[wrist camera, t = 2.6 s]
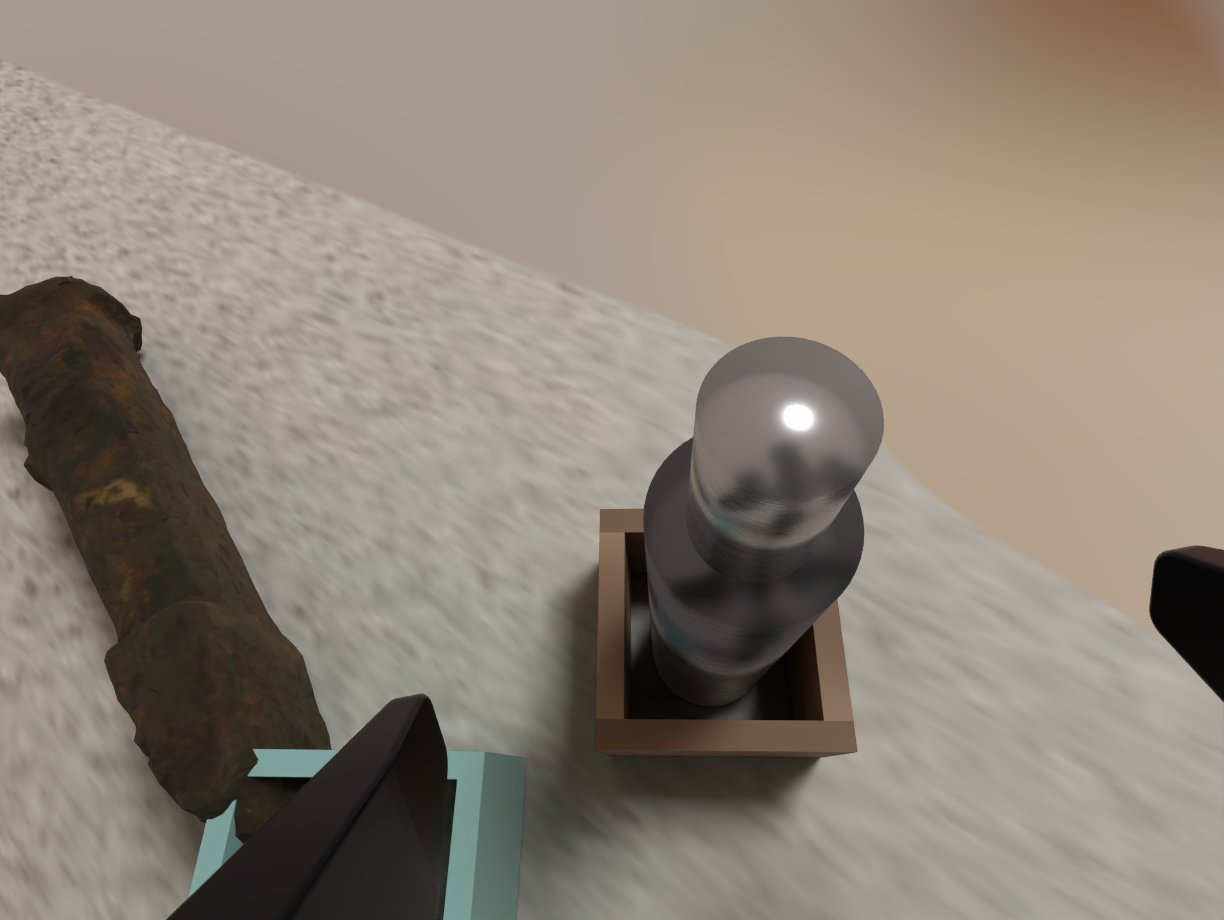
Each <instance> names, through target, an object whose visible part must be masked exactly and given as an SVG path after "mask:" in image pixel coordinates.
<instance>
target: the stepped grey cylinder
mask: <svg viewBox="0 0 1224 920" xmlns="http://www.w3.org/2000/svg"><path fill="white" fill-rule="evenodd" d="M883 429H884V418H883V410H882V406H881V402H880V399H879V396H878V394H877V392H876V389H875V388H874V386H873V384H872V383H871V381H870V380H869V379H868V377H867V376H866V375H865V373H864V372H863V371H862V370H861V369H860V368H859V367H858V366H857V365H856V364H855V363H854V362H853V361H851V360H850V359H849V358H847V357H846V356H845V355H843V354H842V353H840V352H838V351H837V350H835V349H833V348H831V347H828V346H826V345H824V344H821V343H818V342H815V341H811V340H807V339H803V338H795V337H771V338H764V339H760V340H755V341H752V342H749V343H746V344H744V345H742V346H739V347H737V348H735V349H734V350H732V351H730V352H729V353H727V354H726V355H725V356H723V357H722V358H721V359H720V360H719V361H718V362H717V363H716V364H715V365H714V366H713V367H712V368H711V370H710V371H709V372H708V374H707V375H706V377H705V379H704V381H703V383H702V385H701V387H700V390H699V393H698V398H697V403H696V413H695V424H694V436H693V438H691V439H689V440H688V441H686V442H685V443H683V444H682V445H681V446H679V447H678V448H677V449H676V450H674V451H673V452H672V453H671V454H670V455H669V456H668V458H667V459H666V460H665V461H664V462H663V463H662V465H661V466H660V468H659V469H658V470H657V472H656V474H655V476H654V478H653V480H652V482H651V484H650V487H649V489H648V492H647V495H646V500H645V505H644V515H643V525H644V539H645V552H646V565H647V579H648V592H649V605H650V618H651V632H652V645H653V656H654V661H655V664H656V667H657V670H658V672H659V674H660V676H661V678H662V679H663V681H664V682H665V684H666V685H667V686H668V687H669V688H670V689H671V690H672V691H673V692H674V693H675V694H677V695H678V696H680V697H681V698H683V699H685V700H687V701H689V702H691V703H694V704H698V705H702V706H720V705H725V704H728V703H731V702H733V701H735V700H737V699H739V698H740V697H742V696H743V695H744V694H746V693H747V692H748V691H749V690H750V689H751V688H752V687H753V686H754V685H755V684H756V683H757V682H758V680H759V679H760V678H761V677H762V676H763V675H764V674H765V673H766V672H767V671H768V670H769V669H770V668H771V667H772V666H773V665H774V664H775V663H776V662H777V661H778V660H779V659H780V658H781V657H782V656H783V655H784V653H785V652H786V651H787V650H788V649H789V648H790V647H791V646H792V645H793V644H794V643H795V642H796V641H797V640H798V639H799V638H800V637H801V636H802V635H803V634H804V633H805V632H806V631H807V630H808V629H809V627H810V626H811V625H812V624H813V623H814V622H815V621H816V620H817V619H818V618H819V617H820V616H821V615H822V614H823V613H824V612H825V611H826V610H827V609H828V608H829V607H830V606H831V605H832V604H833V603H834V602H835V600H836V599H837V598H838V597H839V596H840V595H841V594H842V593H843V591H844V590H845V589H846V587H847V586H848V585H849V583H850V582H851V580H852V578H853V576H854V574H855V572H856V570H857V567H858V565H859V562H860V559H861V555H862V550H863V544H864V523H863V516H862V511H861V507H860V503H859V501H858V498H857V495H856V493H855V491H854V488H855V487H856V485H857V484H858V482H859V481H860V479H861V478H862V476H863V475H864V473H865V472H866V470H867V468H868V467H869V465H870V464H871V462H872V461H873V459H874V457H875V456H876V454H877V452H878V449H879V447H880V444H881V441H882V436H883Z"/></svg>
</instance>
